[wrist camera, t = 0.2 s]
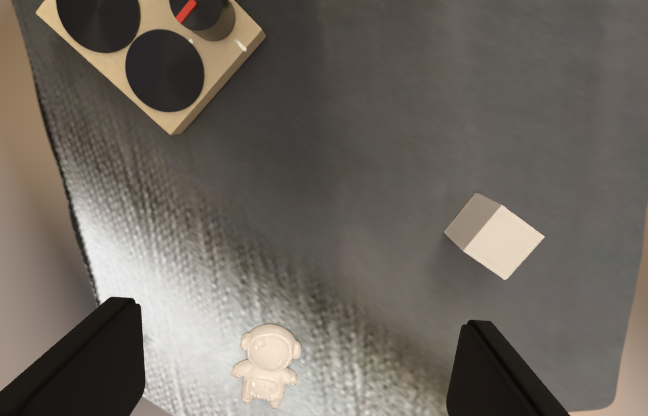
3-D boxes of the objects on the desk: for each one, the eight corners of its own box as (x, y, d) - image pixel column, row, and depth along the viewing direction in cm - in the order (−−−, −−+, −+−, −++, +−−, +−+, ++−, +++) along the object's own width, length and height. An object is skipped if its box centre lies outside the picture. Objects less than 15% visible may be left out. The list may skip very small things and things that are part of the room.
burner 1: (89, -58, 31) (87, -59, 31) (157, 9, 33) (155, 8, 32) (41, 9, 33) (39, 8, 32) (109, 70, 34) (107, 70, 34)
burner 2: (159, 11, 33) (157, 10, 32) (220, 72, 34) (219, 71, 34) (110, 72, 34) (108, 72, 34) (172, 128, 36) (171, 128, 35)
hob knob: (209, -22, 32) (190, -45, 27) (245, 16, 33) (232, -1, 28) (178, 16, 33) (155, 0, 28) (214, 51, 34) (198, 41, 29)
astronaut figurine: (225, 390, 47) (219, 409, 44) (247, 316, 45) (242, 330, 42) (287, 406, 48) (285, 425, 45) (313, 334, 45) (312, 349, 42)
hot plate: (153, -110, 33) (137, -133, 30) (280, 24, 36) (276, 15, 33) (58, 21, 36) (33, 12, 33) (182, 135, 39) (171, 137, 36)
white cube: (513, 219, 42) (545, 236, 36) (480, 258, 43) (505, 280, 37) (475, 192, 41) (501, 204, 35) (442, 232, 42) (463, 251, 36)
